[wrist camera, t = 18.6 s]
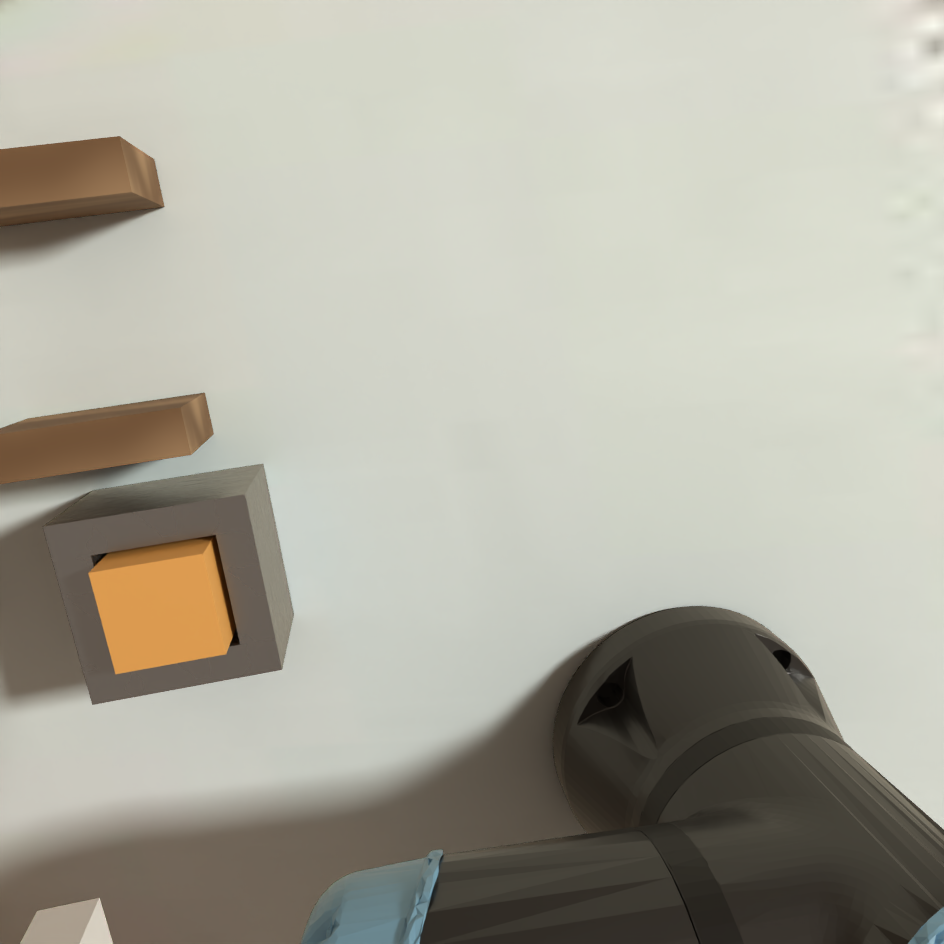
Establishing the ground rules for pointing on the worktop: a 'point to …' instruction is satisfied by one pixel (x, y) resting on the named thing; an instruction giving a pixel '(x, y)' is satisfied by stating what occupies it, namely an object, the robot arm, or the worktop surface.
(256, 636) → the plunger housing
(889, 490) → the worktop surface
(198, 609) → the plunger
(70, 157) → the block
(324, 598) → the worktop surface
